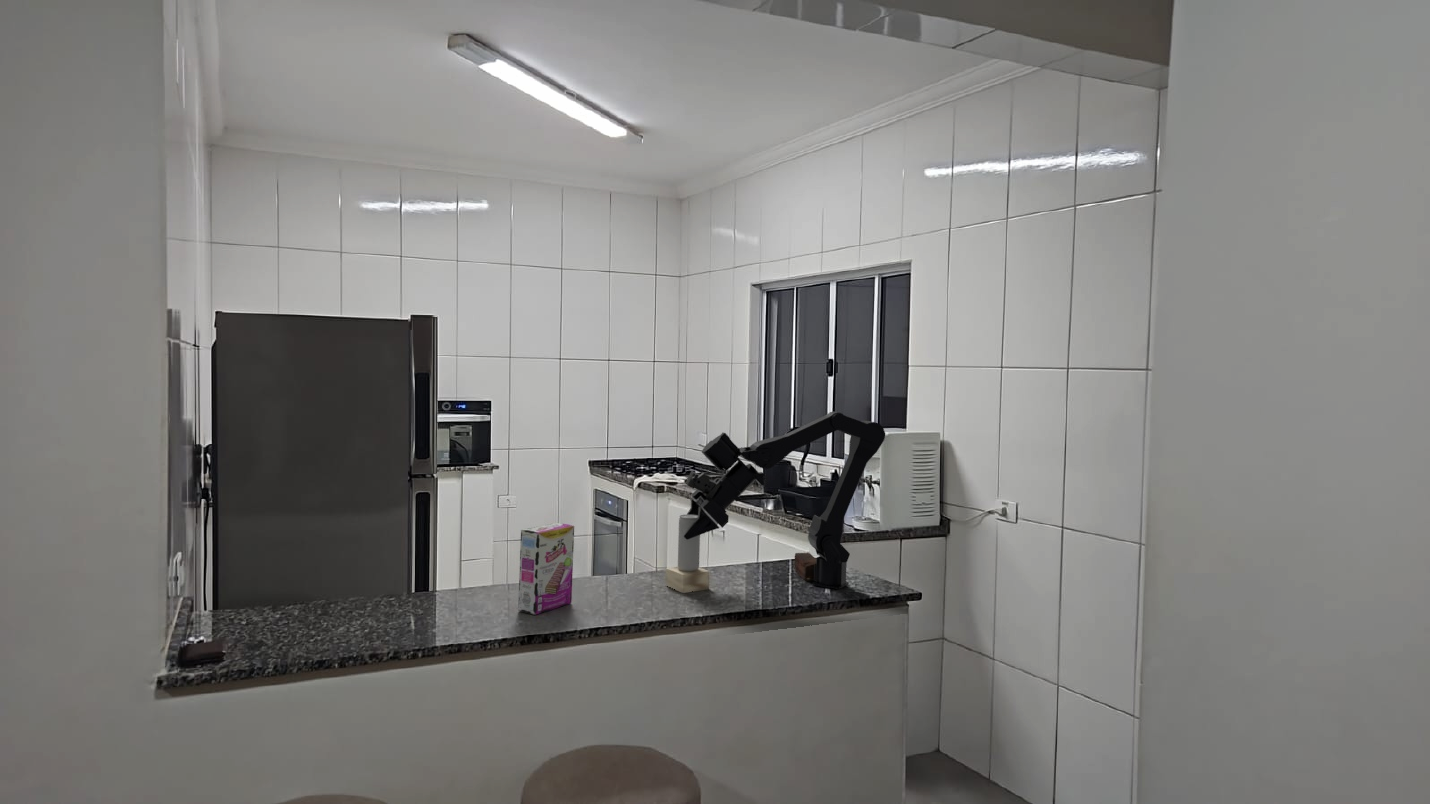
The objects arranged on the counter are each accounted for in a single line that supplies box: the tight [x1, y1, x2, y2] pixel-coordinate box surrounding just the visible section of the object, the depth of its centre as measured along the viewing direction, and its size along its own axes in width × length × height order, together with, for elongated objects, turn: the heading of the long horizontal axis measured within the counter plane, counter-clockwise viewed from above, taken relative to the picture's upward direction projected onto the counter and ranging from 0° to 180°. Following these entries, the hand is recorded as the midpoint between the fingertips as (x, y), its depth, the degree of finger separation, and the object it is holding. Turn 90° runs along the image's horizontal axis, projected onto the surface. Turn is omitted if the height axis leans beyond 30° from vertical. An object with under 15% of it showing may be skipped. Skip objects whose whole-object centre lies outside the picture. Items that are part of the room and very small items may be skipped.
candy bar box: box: [517, 522, 575, 616], centre depth 178 cm, size 11×5×16 cm, turn 149°
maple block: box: [665, 566, 710, 594], centre depth 197 cm, size 7×7×4 cm
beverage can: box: [677, 514, 701, 572], centre depth 197 cm, size 5×5×12 cm
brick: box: [793, 552, 817, 582], centre depth 211 cm, size 11×4×5 cm, turn 9°
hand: (682, 534), depth 197 cm, fingers open, 9 cm apart
